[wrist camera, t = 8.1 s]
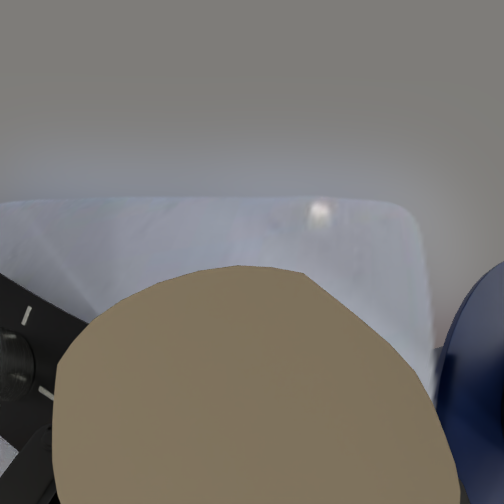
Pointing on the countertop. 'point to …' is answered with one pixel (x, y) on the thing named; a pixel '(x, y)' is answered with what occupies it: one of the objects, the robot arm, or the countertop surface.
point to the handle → (243, 401)
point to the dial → (15, 365)
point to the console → (34, 357)
